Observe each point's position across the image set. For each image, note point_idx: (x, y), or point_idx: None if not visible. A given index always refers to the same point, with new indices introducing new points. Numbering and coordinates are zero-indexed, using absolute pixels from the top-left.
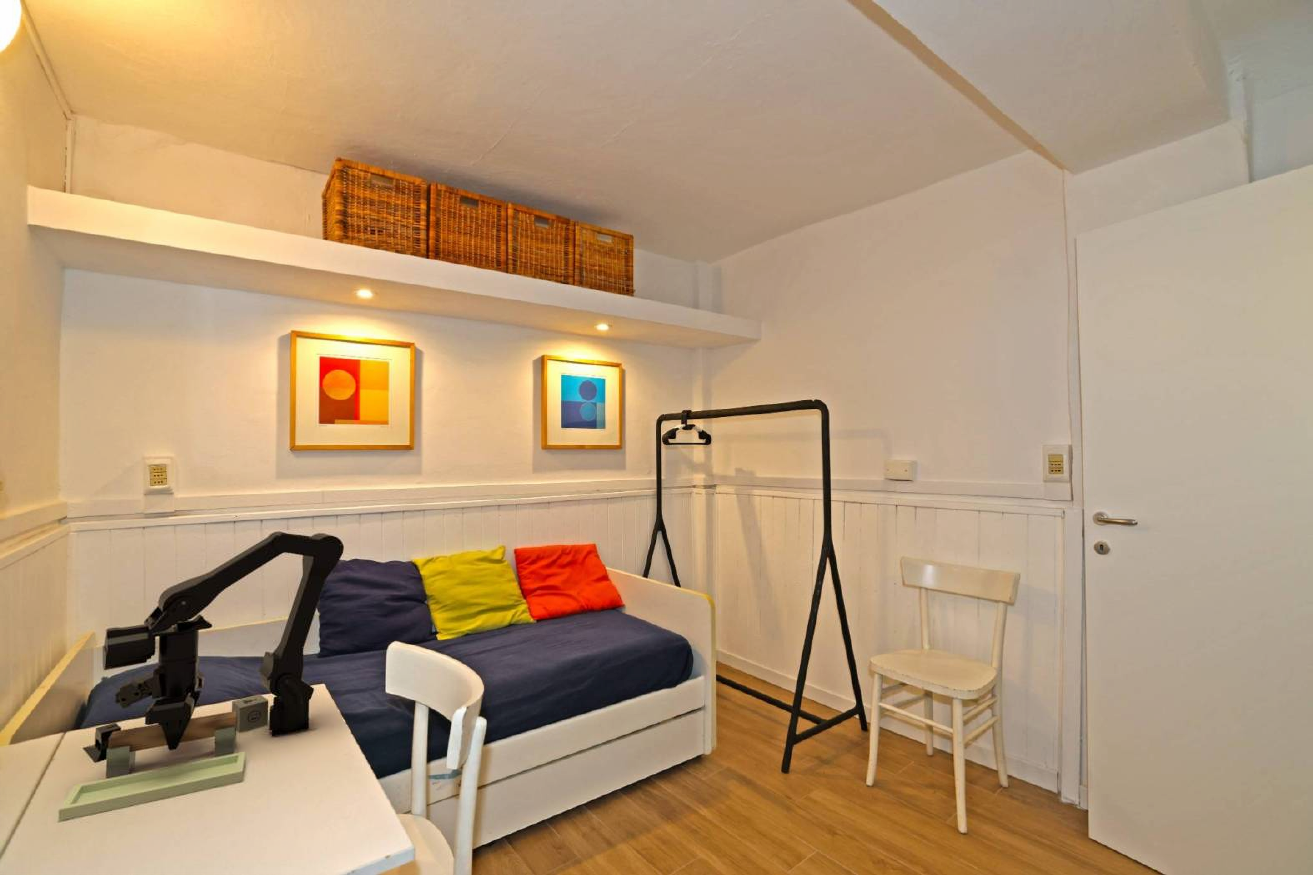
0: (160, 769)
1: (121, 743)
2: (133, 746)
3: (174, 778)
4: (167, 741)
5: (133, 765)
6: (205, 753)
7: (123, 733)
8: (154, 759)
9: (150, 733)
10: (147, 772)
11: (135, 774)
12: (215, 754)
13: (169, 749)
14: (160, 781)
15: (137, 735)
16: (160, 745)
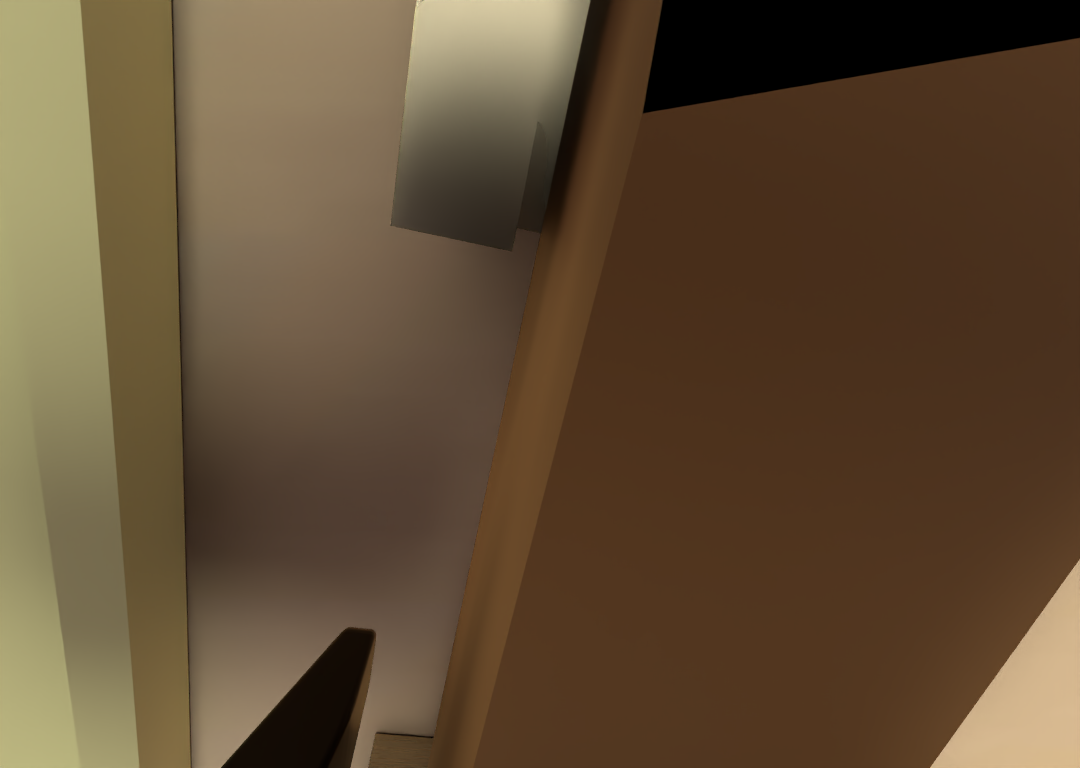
0: (77, 485)
1: (611, 35)
2: (537, 288)
3: (15, 537)
4: (251, 743)
5: None
6: None
7: (989, 54)
8: None
9: (479, 680)
10: (53, 373)
11: (49, 254)
12: (371, 765)
13: (343, 634)
14: (6, 441)
15: (537, 451)
16: (469, 585)
